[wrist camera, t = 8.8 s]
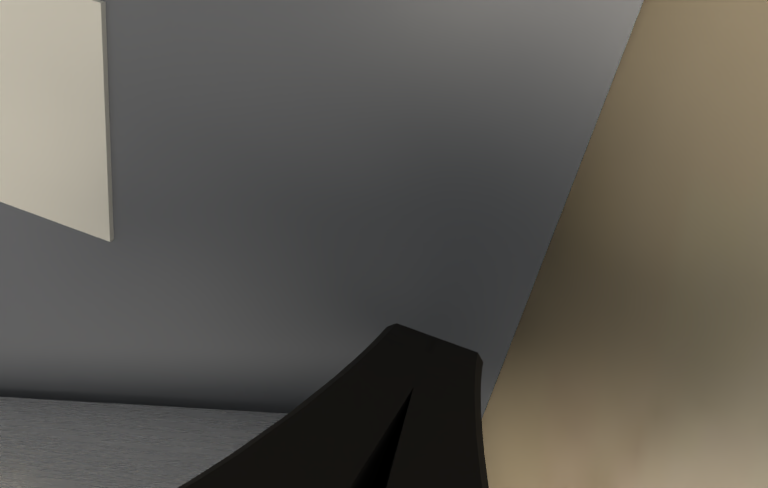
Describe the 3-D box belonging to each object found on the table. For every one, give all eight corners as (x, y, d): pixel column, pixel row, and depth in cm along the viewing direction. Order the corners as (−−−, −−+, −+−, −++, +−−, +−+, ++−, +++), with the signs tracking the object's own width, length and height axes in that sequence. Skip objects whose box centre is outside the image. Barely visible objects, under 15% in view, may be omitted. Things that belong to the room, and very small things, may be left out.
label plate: (-132, 436, 19) (-160, 456, 18) (-384, -315, 10) (-458, -330, 9) (381, 672, 16) (370, 706, 15) (666, -71, 7) (671, -68, 6)
